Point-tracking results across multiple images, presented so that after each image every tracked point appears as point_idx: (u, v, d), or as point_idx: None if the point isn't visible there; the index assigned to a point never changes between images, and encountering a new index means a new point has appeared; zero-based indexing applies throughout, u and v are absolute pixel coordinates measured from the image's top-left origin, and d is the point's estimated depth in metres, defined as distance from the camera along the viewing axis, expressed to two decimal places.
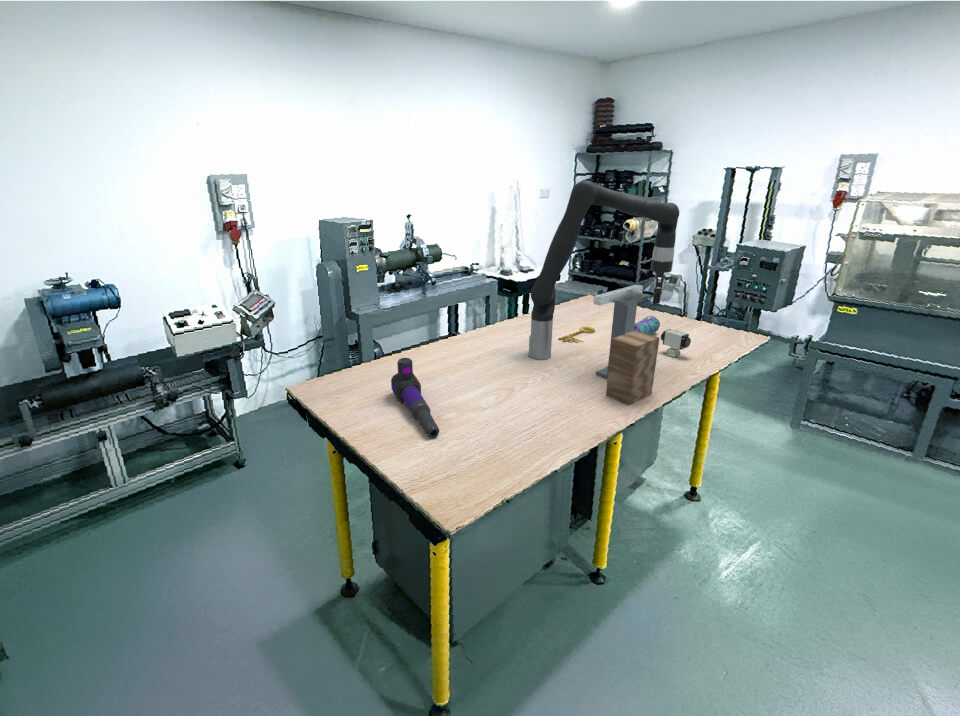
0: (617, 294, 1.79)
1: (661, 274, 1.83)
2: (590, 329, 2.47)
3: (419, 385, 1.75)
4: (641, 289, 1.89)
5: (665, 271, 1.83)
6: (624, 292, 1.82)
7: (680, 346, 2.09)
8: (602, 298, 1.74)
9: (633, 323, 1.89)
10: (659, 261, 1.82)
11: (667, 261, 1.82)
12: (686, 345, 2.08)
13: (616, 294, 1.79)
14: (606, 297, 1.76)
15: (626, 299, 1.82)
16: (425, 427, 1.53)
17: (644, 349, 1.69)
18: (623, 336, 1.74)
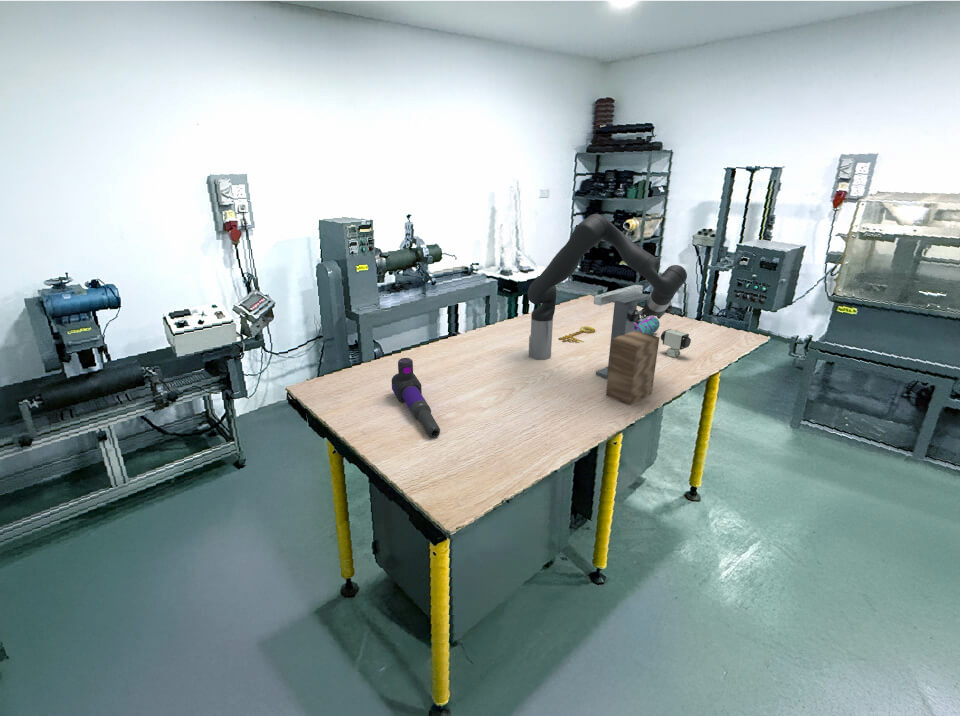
0: (617, 294, 1.79)
1: (644, 310, 1.79)
2: (590, 329, 2.47)
3: (419, 385, 1.75)
4: (641, 289, 1.89)
5: (647, 312, 1.77)
6: (624, 292, 1.82)
7: (680, 346, 2.09)
8: (602, 298, 1.74)
9: (633, 323, 1.89)
10: (646, 302, 1.74)
11: (650, 308, 1.73)
12: (686, 345, 2.08)
13: (616, 294, 1.79)
14: (606, 297, 1.76)
15: (626, 299, 1.82)
16: (426, 427, 1.53)
17: (644, 349, 1.69)
18: (623, 336, 1.74)
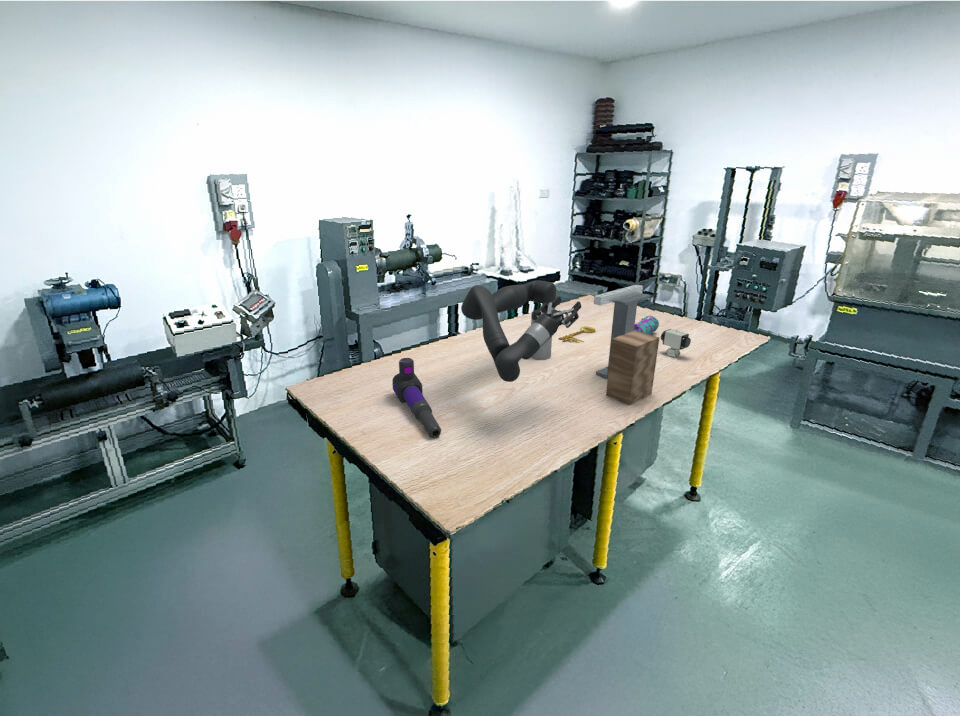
0: (617, 294, 1.79)
1: None
2: (591, 329, 2.47)
3: (420, 385, 1.75)
4: (641, 289, 1.89)
5: None
6: (624, 292, 1.82)
7: (680, 346, 2.09)
8: (602, 298, 1.74)
9: (633, 323, 1.89)
10: None
11: None
12: (686, 345, 2.08)
13: (616, 294, 1.79)
14: (606, 297, 1.76)
15: (626, 299, 1.82)
16: (427, 427, 1.53)
17: (644, 349, 1.69)
18: (623, 336, 1.74)
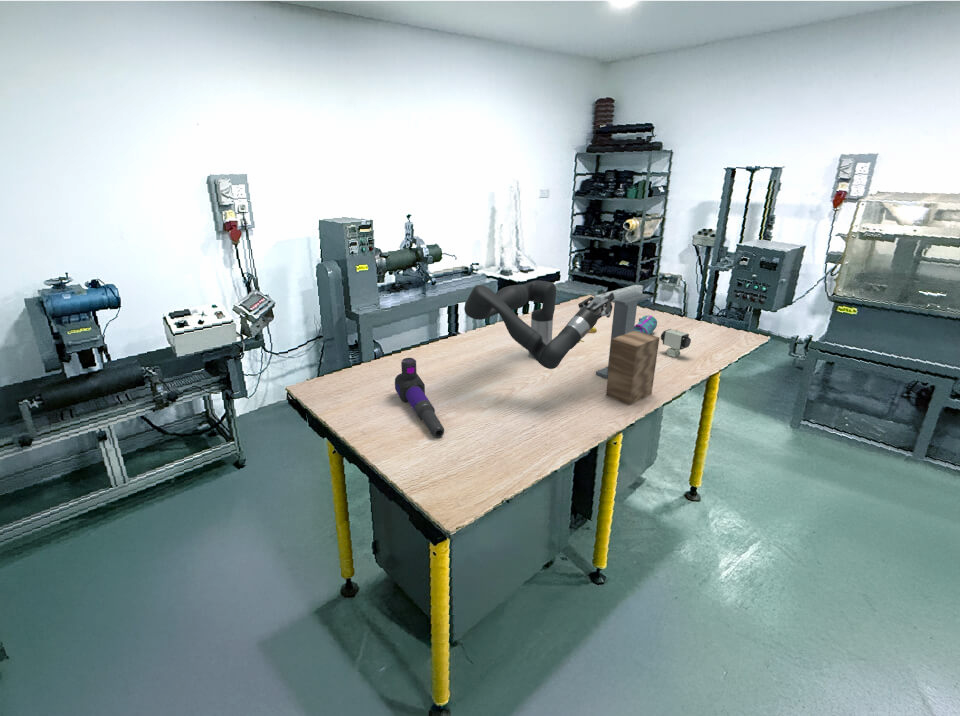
0: (617, 294, 1.79)
1: None
2: (592, 329, 2.47)
3: (423, 385, 1.75)
4: (641, 289, 1.89)
5: None
6: (624, 292, 1.82)
7: (680, 346, 2.09)
8: (602, 298, 1.74)
9: (633, 323, 1.89)
10: None
11: None
12: (686, 345, 2.08)
13: (616, 294, 1.79)
14: (606, 297, 1.76)
15: (626, 299, 1.82)
16: (430, 427, 1.53)
17: (644, 349, 1.69)
18: (623, 336, 1.74)
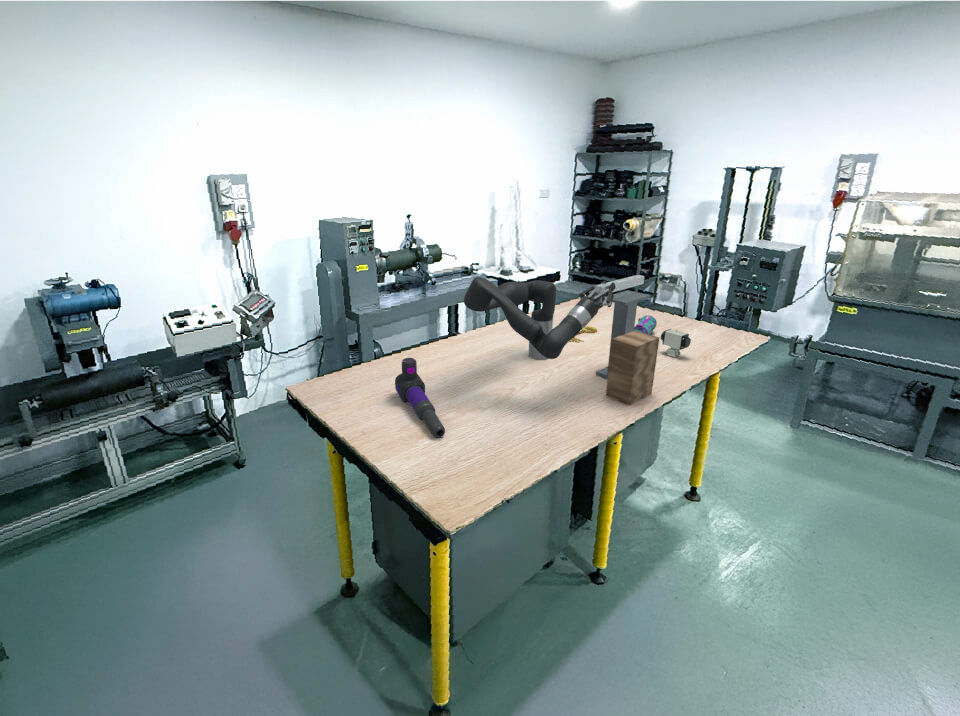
0: (618, 284, 1.78)
1: None
2: (592, 329, 2.47)
3: (423, 385, 1.75)
4: (642, 279, 1.87)
5: None
6: (625, 282, 1.81)
7: (680, 346, 2.09)
8: (603, 288, 1.73)
9: (633, 323, 1.89)
10: None
11: None
12: (686, 345, 2.08)
13: (617, 284, 1.78)
14: (607, 287, 1.74)
15: (626, 299, 1.82)
16: (431, 427, 1.53)
17: (644, 349, 1.69)
18: (623, 336, 1.74)
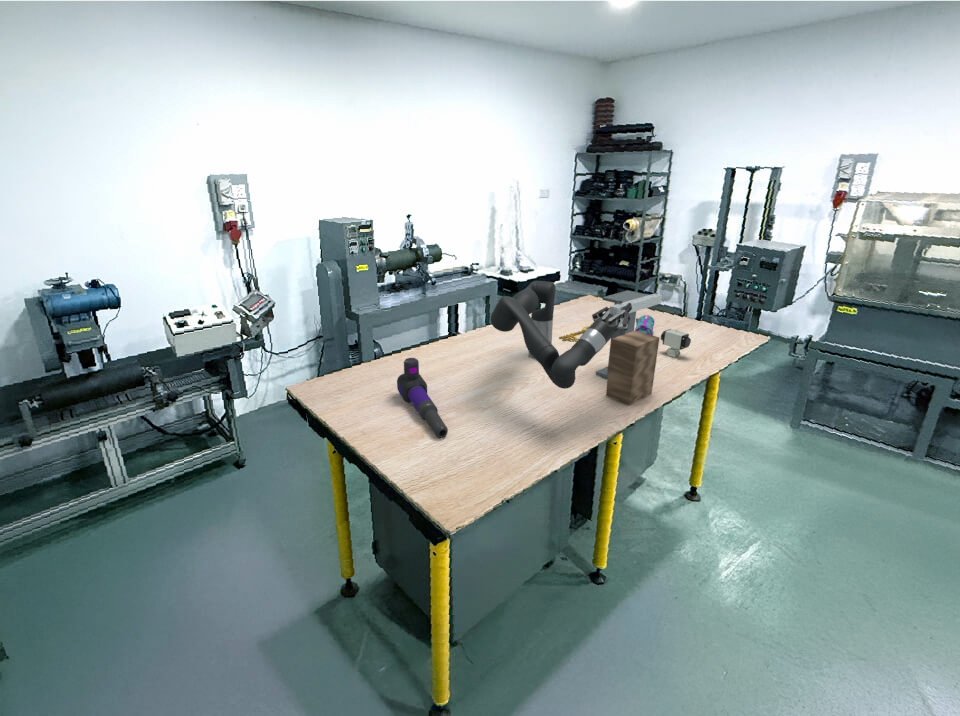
0: (635, 304, 1.63)
1: None
2: None
3: (425, 385, 1.75)
4: (660, 298, 1.73)
5: None
6: (642, 302, 1.66)
7: (680, 346, 2.09)
8: (619, 309, 1.58)
9: (633, 323, 1.89)
10: None
11: None
12: (686, 345, 2.08)
13: (634, 304, 1.63)
14: (623, 308, 1.59)
15: (626, 299, 1.82)
16: (433, 427, 1.53)
17: (644, 349, 1.69)
18: (623, 336, 1.74)
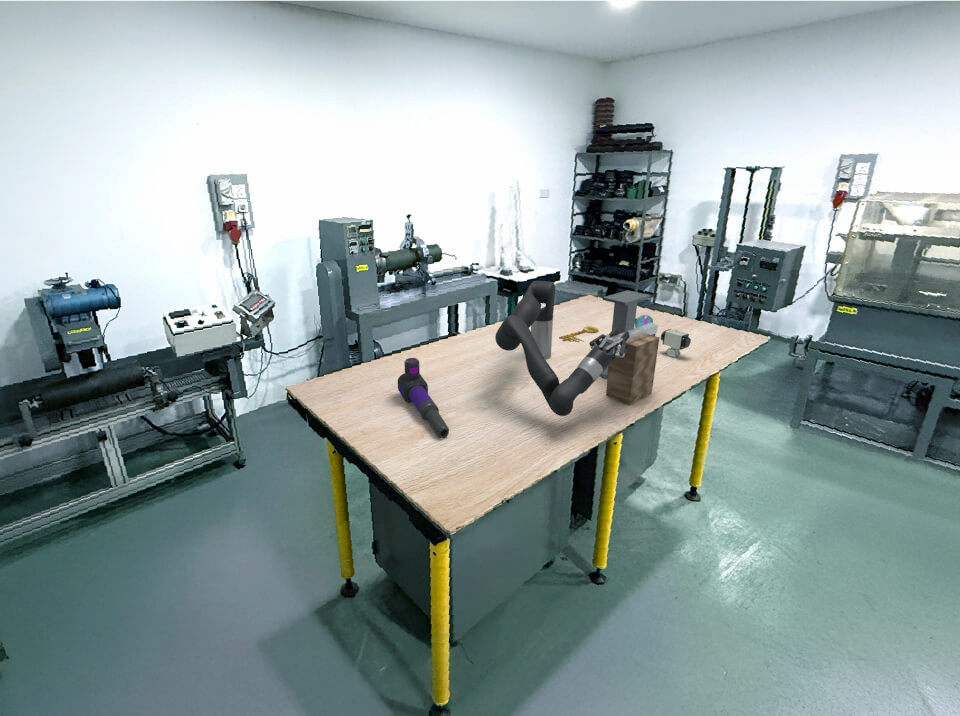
0: (631, 336, 1.67)
1: None
2: (594, 329, 2.47)
3: (426, 385, 1.75)
4: (656, 328, 1.77)
5: None
6: (638, 333, 1.70)
7: (680, 346, 2.09)
8: None
9: (633, 323, 1.89)
10: None
11: None
12: (686, 345, 2.08)
13: (630, 336, 1.67)
14: None
15: (626, 299, 1.82)
16: (435, 427, 1.53)
17: (644, 349, 1.69)
18: None
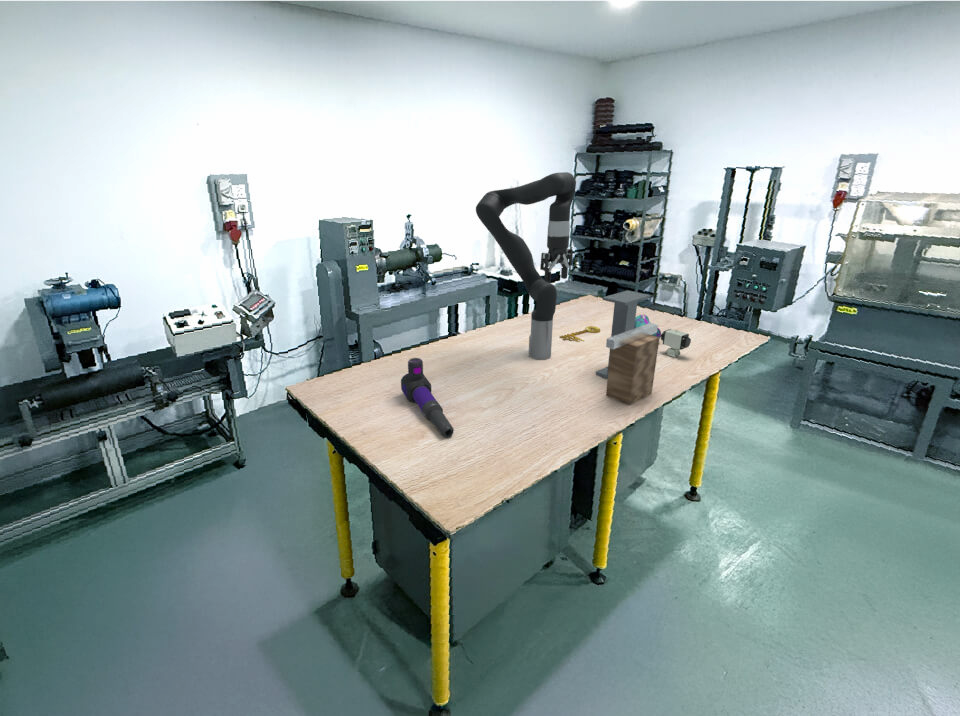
0: (631, 336, 1.67)
1: (551, 250, 1.70)
2: (595, 329, 2.47)
3: (429, 385, 1.75)
4: (656, 328, 1.77)
5: (554, 247, 1.68)
6: (638, 333, 1.70)
7: (680, 346, 2.09)
8: (615, 341, 1.62)
9: (633, 323, 1.89)
10: (549, 236, 1.69)
11: (555, 236, 1.67)
12: (686, 345, 2.08)
13: (630, 336, 1.67)
14: (619, 340, 1.63)
15: (626, 299, 1.82)
16: (439, 427, 1.53)
17: (644, 349, 1.69)
18: None
